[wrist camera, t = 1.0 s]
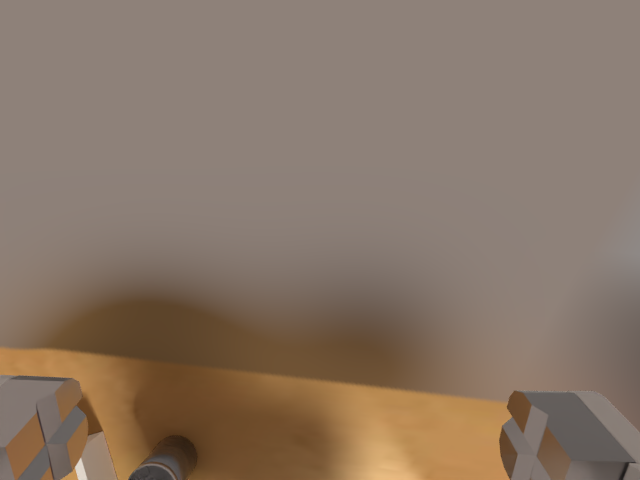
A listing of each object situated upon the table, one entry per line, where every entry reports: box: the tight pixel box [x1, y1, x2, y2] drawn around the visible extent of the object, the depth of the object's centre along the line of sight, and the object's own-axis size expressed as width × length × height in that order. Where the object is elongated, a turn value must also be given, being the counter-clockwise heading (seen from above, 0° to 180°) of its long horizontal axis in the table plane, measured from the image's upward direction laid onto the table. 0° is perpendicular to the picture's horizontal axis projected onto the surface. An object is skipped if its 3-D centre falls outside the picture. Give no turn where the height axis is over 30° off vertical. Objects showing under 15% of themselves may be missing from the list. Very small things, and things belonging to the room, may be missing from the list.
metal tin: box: [128, 436, 197, 480], centre depth 48 cm, size 6×6×7 cm
